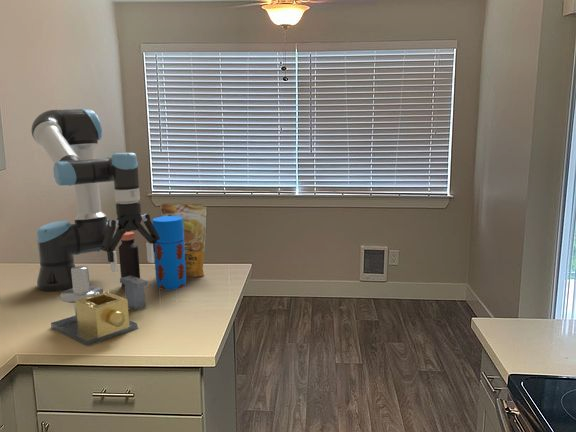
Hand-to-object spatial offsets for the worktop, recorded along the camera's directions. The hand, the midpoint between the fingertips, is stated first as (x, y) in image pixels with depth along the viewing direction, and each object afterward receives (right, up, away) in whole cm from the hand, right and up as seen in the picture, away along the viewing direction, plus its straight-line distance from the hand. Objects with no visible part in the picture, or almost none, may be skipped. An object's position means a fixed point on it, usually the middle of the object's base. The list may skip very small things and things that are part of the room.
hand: (133, 267), depth 177 cm
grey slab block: (0, -14, +3) cm, 14 cm away
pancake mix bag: (+10, -7, +39) cm, 41 cm away
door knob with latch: (-7, -17, -14) cm, 23 cm away
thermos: (+7, -9, +26) cm, 28 cm away
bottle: (-8, -10, +25) cm, 28 cm away
